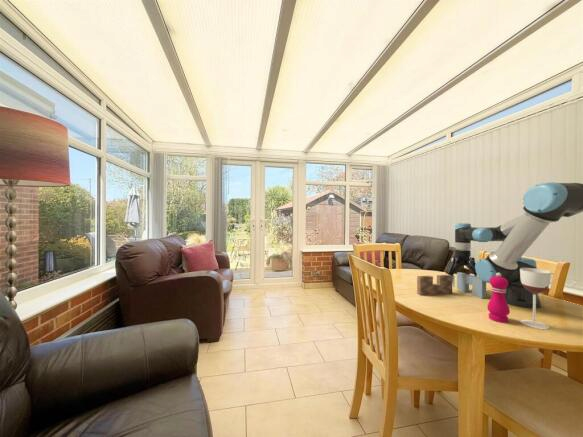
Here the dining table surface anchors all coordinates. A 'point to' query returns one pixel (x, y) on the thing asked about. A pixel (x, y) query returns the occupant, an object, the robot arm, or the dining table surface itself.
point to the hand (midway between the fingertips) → (462, 285)
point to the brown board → (434, 285)
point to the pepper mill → (498, 299)
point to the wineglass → (535, 289)
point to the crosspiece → (476, 283)
